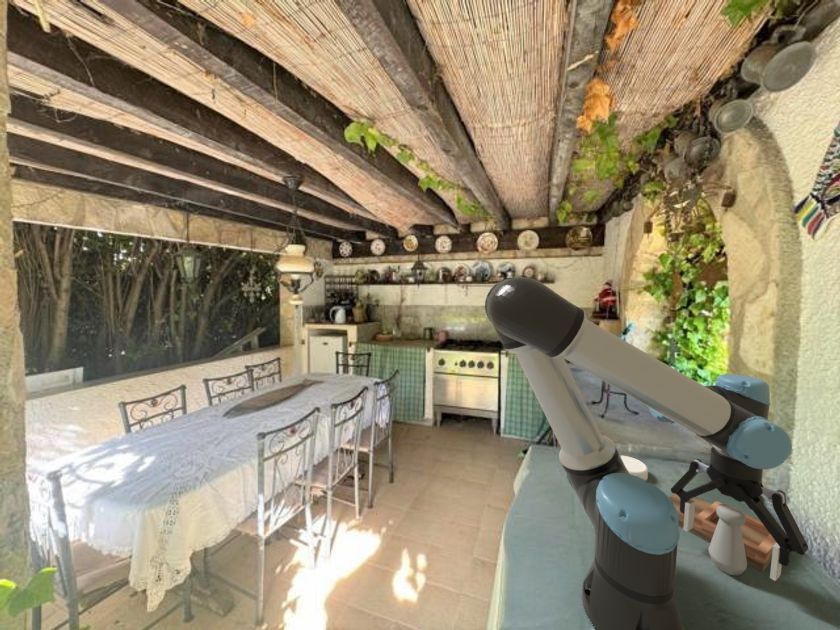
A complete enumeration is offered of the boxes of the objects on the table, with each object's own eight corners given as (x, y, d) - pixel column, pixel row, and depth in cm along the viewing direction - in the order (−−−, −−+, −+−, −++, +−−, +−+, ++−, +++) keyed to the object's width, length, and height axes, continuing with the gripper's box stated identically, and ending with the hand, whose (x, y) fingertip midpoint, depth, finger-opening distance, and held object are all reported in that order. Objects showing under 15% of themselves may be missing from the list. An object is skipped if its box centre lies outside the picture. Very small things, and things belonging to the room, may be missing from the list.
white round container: (654, 477, 99) (654, 466, 98) (636, 487, 94) (637, 476, 93) (620, 461, 107) (620, 451, 107) (602, 470, 102) (603, 460, 102)
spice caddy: (762, 571, 66) (764, 556, 65) (653, 511, 83) (654, 499, 83) (785, 545, 72) (787, 530, 72) (680, 494, 90) (681, 482, 90)
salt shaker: (754, 580, 64) (760, 519, 63) (725, 579, 64) (730, 518, 63) (727, 555, 70) (732, 499, 69) (700, 555, 70) (704, 499, 69)
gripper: (842, 479, 55) (828, 592, 57) (673, 425, 77) (667, 507, 79) (830, 493, 52) (816, 613, 54) (656, 432, 74) (651, 518, 76)
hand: (727, 550), depth 67 cm, fingers open, 13 cm apart
